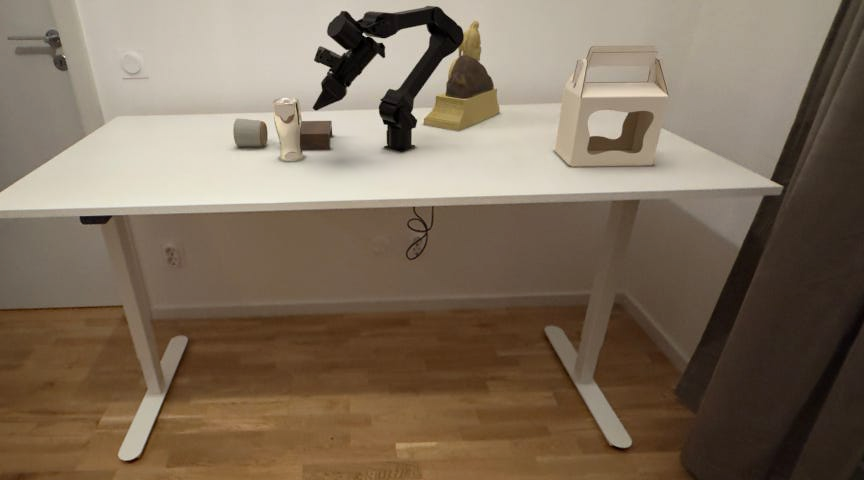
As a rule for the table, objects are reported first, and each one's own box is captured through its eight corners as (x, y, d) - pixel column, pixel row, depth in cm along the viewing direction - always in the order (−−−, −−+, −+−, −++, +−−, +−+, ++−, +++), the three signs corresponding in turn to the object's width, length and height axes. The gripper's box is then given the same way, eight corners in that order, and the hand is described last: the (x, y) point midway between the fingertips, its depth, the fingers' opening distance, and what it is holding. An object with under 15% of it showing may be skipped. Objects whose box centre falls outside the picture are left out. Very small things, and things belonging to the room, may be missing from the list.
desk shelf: (332, 135, 161) (330, 105, 157) (329, 149, 149) (327, 117, 145) (292, 136, 161) (289, 106, 156) (286, 150, 149) (283, 118, 144)
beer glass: (302, 162, 140) (297, 104, 132) (276, 162, 140) (269, 103, 133) (307, 154, 146) (302, 97, 139) (281, 153, 146) (275, 97, 139)
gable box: (568, 166, 137) (587, 50, 123) (553, 151, 148) (569, 42, 134) (653, 165, 138) (682, 49, 124) (631, 150, 149) (655, 42, 135)
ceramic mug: (264, 149, 149) (260, 122, 145) (235, 149, 149) (230, 122, 145) (272, 139, 158) (269, 113, 155) (244, 139, 158) (240, 113, 155)
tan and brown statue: (466, 108, 192) (472, 16, 177) (499, 113, 186) (507, 18, 171) (423, 124, 173) (426, 23, 158) (458, 131, 166) (464, 25, 151)
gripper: (335, 30, 137) (297, 75, 143) (327, 39, 121) (285, 90, 127) (367, 62, 141) (329, 104, 147) (364, 75, 125) (321, 122, 131)
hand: (316, 105), depth 138 cm, fingers open, 9 cm apart
